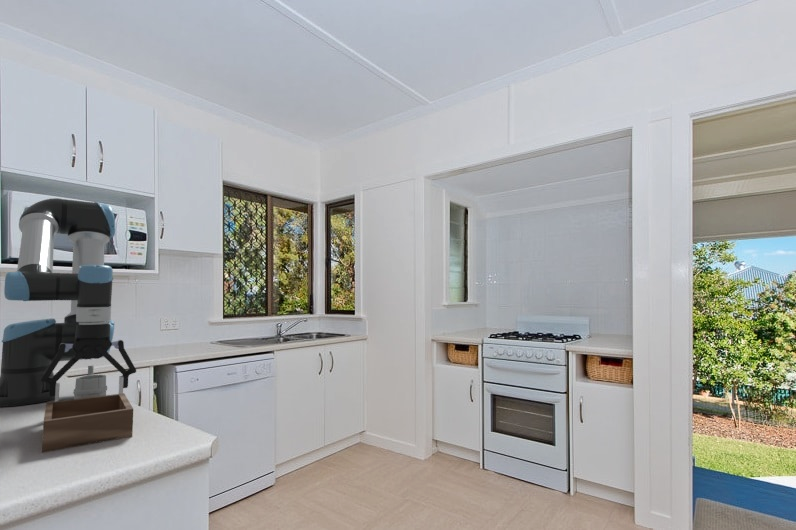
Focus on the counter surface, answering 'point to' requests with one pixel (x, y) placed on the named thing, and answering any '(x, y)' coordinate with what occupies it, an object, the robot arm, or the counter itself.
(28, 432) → the counter surface
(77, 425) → the wooden box
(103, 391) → the mug
